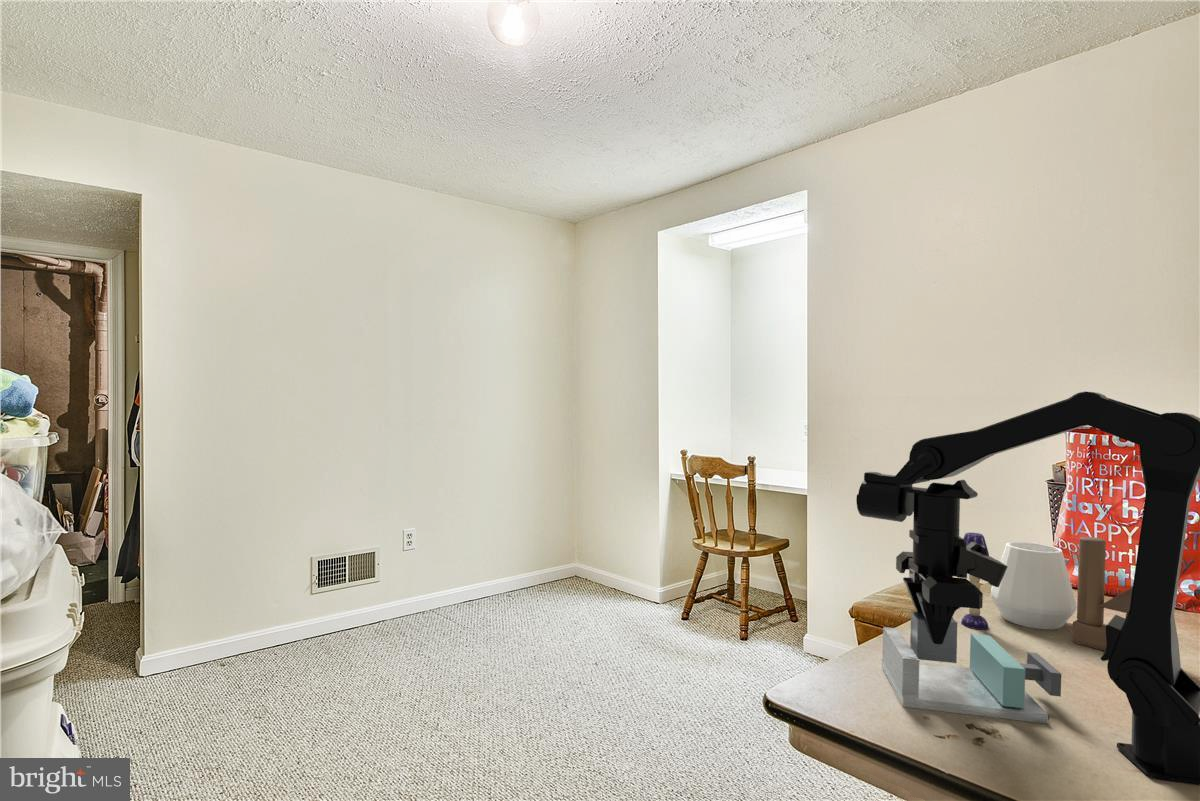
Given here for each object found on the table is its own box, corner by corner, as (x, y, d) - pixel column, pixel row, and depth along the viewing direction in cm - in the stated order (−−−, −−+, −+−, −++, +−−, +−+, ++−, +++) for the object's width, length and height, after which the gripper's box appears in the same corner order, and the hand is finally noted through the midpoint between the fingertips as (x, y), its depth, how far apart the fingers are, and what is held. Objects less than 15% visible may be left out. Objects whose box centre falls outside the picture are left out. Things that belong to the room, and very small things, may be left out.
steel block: (956, 663, 88) (957, 622, 88) (916, 659, 89) (917, 619, 89) (948, 653, 91) (949, 614, 91) (910, 649, 92) (911, 611, 92)
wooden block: (1152, 665, 101) (1155, 550, 101) (1071, 642, 109) (1074, 537, 109) (1159, 660, 103) (1162, 548, 103) (1079, 638, 112) (1082, 535, 111)
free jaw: (1070, 713, 81) (1071, 673, 81) (1002, 705, 83) (1003, 667, 83) (1028, 673, 93) (1029, 639, 93) (969, 667, 94) (970, 633, 94)
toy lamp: (978, 631, 114) (981, 537, 114) (952, 623, 118) (954, 532, 118) (992, 626, 116) (995, 535, 116) (966, 619, 120) (969, 530, 120)
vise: (1047, 723, 81) (1049, 674, 81) (902, 706, 85) (904, 659, 85) (1005, 679, 94) (1007, 637, 94) (881, 666, 97) (882, 625, 97)
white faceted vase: (982, 620, 120) (984, 545, 120) (997, 604, 130) (999, 535, 130) (1071, 639, 111) (1073, 559, 111) (1080, 621, 121) (1082, 547, 121)
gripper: (1030, 545, 79) (1027, 672, 79) (975, 518, 97) (973, 621, 97) (931, 539, 81) (929, 662, 81) (896, 514, 99) (894, 615, 100)
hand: (933, 638), depth 90 cm, fingers closed on steel block, 3 cm apart
